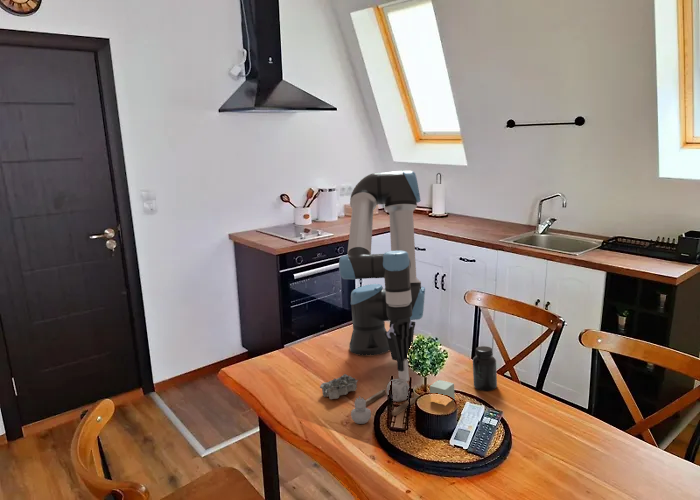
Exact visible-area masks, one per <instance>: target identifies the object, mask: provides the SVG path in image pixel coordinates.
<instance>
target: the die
mask: <svg viewBox="0 0 700 500" xmlns="http://www.w3.org/2000/svg"><path fill="white" fill-rule="evenodd" d="M391 381H392V393H393V400H392V401H393V402H398V403H399V402H403V401H404V402H405V401H407V399H408V397H409V395H408V389H409V388H410V385H409V383H408V381H407V382H406V381H405V380H403V379H399V378H393V379H391V380H389V382H388V384H387V385H386V395H387V396H388V395H389V390H390V385H391ZM407 396H408V397H407Z"/></svg>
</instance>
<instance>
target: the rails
mask: <svg viewBox="0 0 700 500" xmlns="http://www.w3.org/2000/svg"><path fill="white" fill-rule="evenodd" d="M384 395H387V389H382V390H380V391H377V392H376V393H375V394H373V395H371V396H370V397H368V398H367V399H364V400H365V402H366V407H367V406H369V405H371V404H372V403H374V402H375V401H377V400H378V399H379V398H381V397H383V396H384ZM409 399H410V406H412V405H413V404H414V403H416V398H415V397H411V398H409ZM409 399H408V400H409ZM408 400H407V399H406V400H405V401H404V402H403V403H402V404H400V405H399V406H397V407H396V408H393V409H392V410H391V416H393V417H394V416H395V417H396V416H397V415H398V414H401V412H403V411H405V410H406V409H407V408H408V407H407V406H408V404H409V402H408Z"/></svg>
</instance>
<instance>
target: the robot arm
mask: <svg viewBox="0 0 700 500" xmlns="http://www.w3.org/2000/svg"><path fill="white" fill-rule="evenodd" d="M419 188H420V187H419V184H418V179H417V175H416V172H415V171H413V170H395V171H386V172H374V173H370V174H368V175H365V176H364V177H363V178H362V179H360V181H359V182H358V183H357V184H356V185H355V187H353V189H352V192H351V195H350V201H349V206H350V207H351V215H350V216H351V217H350V226H349V227H350V228H349V235H348V245H347V254H346V255H341V256H340V257H339V261H338V271H339V275H340V277H341V278H342V280H363V279H384V286H383V285H382V284H380V283H370V284H367V285H366V284H365V285H362V286H359V287H356V288H355V289H353V290H351V293H350V305H351V317H352V320H351V321H352V332H351V337H350V342H349V351H350V352H351V353H352V354H354V355H357V356H363V357H365V356H367V357H369V356H378V355H383V354H386V353H387V352H390V357H391V360H393V361H396V363H397V364H396V366H397V373H398V379H403V380H405V381H406V382H407V383H408V381H410V376H409V359H408V360H407V353H408V350H409V348H410V345H411V342H412V341H413V342H414V334H415V326H416V322H415V320H416V321H418V320H420V319H421V320H422V318H423V316H424V310H425V309H424V308H425V307H424V306H425V295H426V287H425V286H422V282H421V280H419V279H418V278H417V267H416V247H415V229H414V227H415V226H414V225H415V224H414V211H415V210H416V209H417V207H418V203H419V202H421V196H420V189H419ZM378 205H380V206H381V205H384V210H386V211H387V212H388V214H389V234H390V250H389V251H385V252H384V253H376V254H375V253H373V254H372V242H373V241H372V239H373V221H374V210H375V209H376V208H377V206H378ZM386 322H389V329H388V331H387V329H386V325H385V323H386Z"/></svg>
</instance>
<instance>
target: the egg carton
mask: <svg viewBox="0 0 700 500" xmlns="http://www.w3.org/2000/svg"><path fill="white" fill-rule="evenodd" d="M358 381H359V379H356V377H352V376H351V375H348V374H346V373H344V374H343V375H341V376H340V377H337V378H334V379H331V380H329V381H328V382H323V383H321V384H320V386H319V389H322V390H321V391H322V396H323V397H324V398H326V397H329V400H334V399H340V396H343V395H344V396H345V395H346V396H347V394H348V393H349V392H354V391H357V388H358Z"/></svg>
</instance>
